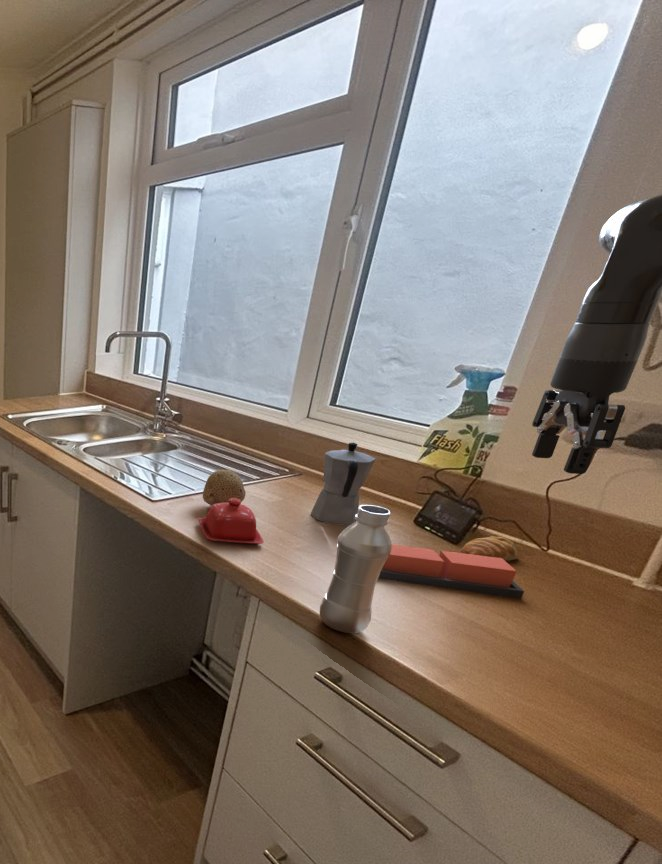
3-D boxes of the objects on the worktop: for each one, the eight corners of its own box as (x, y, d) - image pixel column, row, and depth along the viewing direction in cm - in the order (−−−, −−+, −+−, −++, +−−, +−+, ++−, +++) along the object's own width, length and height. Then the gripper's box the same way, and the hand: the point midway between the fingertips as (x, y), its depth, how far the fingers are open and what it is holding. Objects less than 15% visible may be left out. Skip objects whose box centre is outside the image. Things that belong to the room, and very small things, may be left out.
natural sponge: (249, 510, 126) (256, 471, 122) (229, 520, 121) (236, 479, 117) (214, 499, 133) (220, 462, 129) (193, 508, 128) (199, 469, 124)
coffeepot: (308, 505, 129) (326, 433, 122) (354, 511, 125) (374, 438, 118) (311, 528, 116) (331, 450, 109) (362, 536, 112) (386, 456, 105)
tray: (492, 575, 97) (496, 565, 96) (519, 602, 89) (524, 591, 88) (356, 556, 104) (358, 547, 103) (369, 580, 96) (372, 569, 95)
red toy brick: (426, 568, 98) (433, 549, 97) (437, 581, 94) (444, 561, 92) (370, 560, 101) (376, 542, 100) (378, 572, 97) (384, 553, 95)
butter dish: (265, 549, 107) (273, 510, 104) (205, 545, 109) (212, 507, 106) (249, 526, 118) (256, 490, 115) (195, 522, 120) (201, 487, 117)
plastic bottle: (371, 642, 79) (411, 521, 71) (320, 633, 81) (353, 514, 73) (360, 619, 84) (395, 504, 77) (312, 611, 87) (342, 498, 79)
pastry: (486, 569, 99) (493, 551, 97) (447, 554, 105) (453, 536, 103) (519, 561, 102) (526, 543, 100) (479, 546, 108) (485, 529, 106)
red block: (494, 577, 95) (502, 558, 93) (508, 591, 91) (517, 571, 89) (433, 569, 98) (440, 550, 96) (444, 582, 94) (452, 562, 92)
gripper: (673, 362, 67) (621, 481, 73) (600, 351, 80) (560, 454, 86) (596, 361, 70) (551, 476, 76) (536, 351, 82) (502, 451, 88)
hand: (556, 464), depth 81 cm, fingers open, 8 cm apart
